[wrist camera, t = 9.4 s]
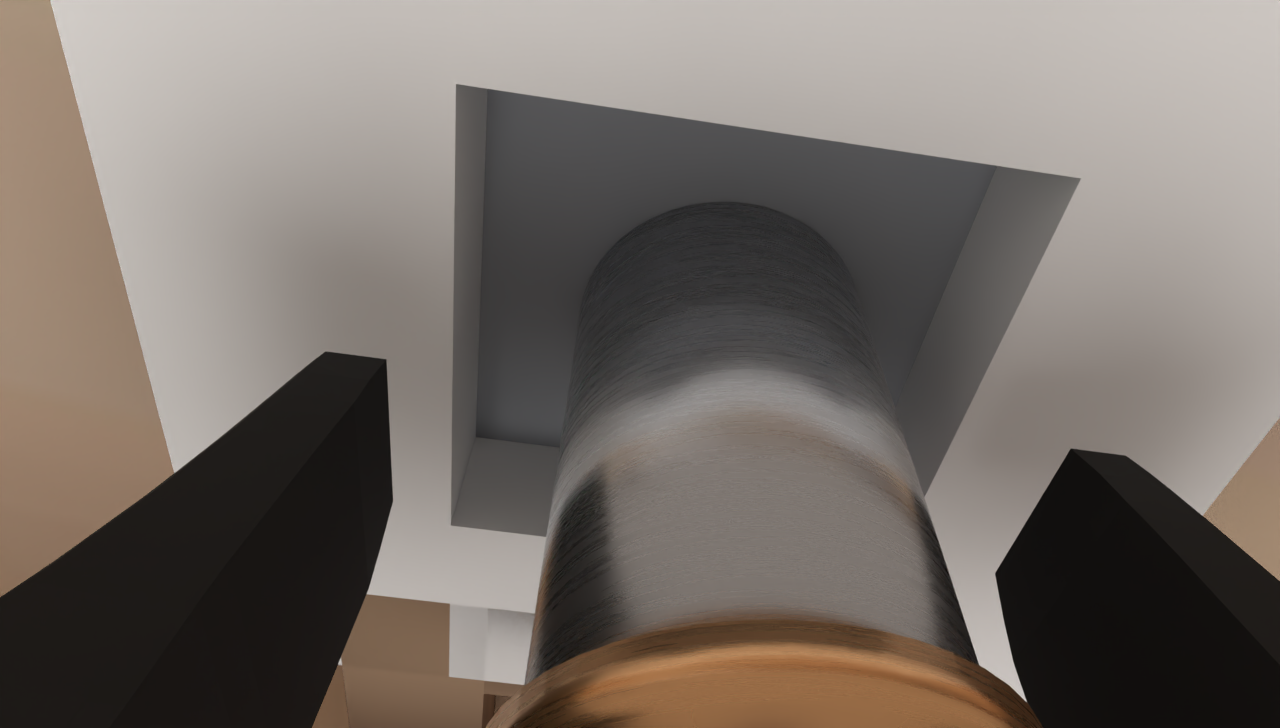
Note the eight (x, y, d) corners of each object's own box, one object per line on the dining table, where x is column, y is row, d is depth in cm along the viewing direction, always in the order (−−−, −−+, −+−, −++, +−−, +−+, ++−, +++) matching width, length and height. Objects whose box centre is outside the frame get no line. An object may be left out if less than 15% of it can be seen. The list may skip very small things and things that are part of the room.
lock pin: (828, 461, 14) (942, 992, 8) (546, 426, 13) (455, 952, 8) (927, 208, 11) (1210, 747, 5) (575, 155, 11) (466, 668, 5)
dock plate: (991, 642, 17) (1025, 739, 15) (267, 558, 16) (221, 651, 14) (1551, -212, 8) (1765, -199, 7) (71, -487, 7) (-94, -547, 6)
